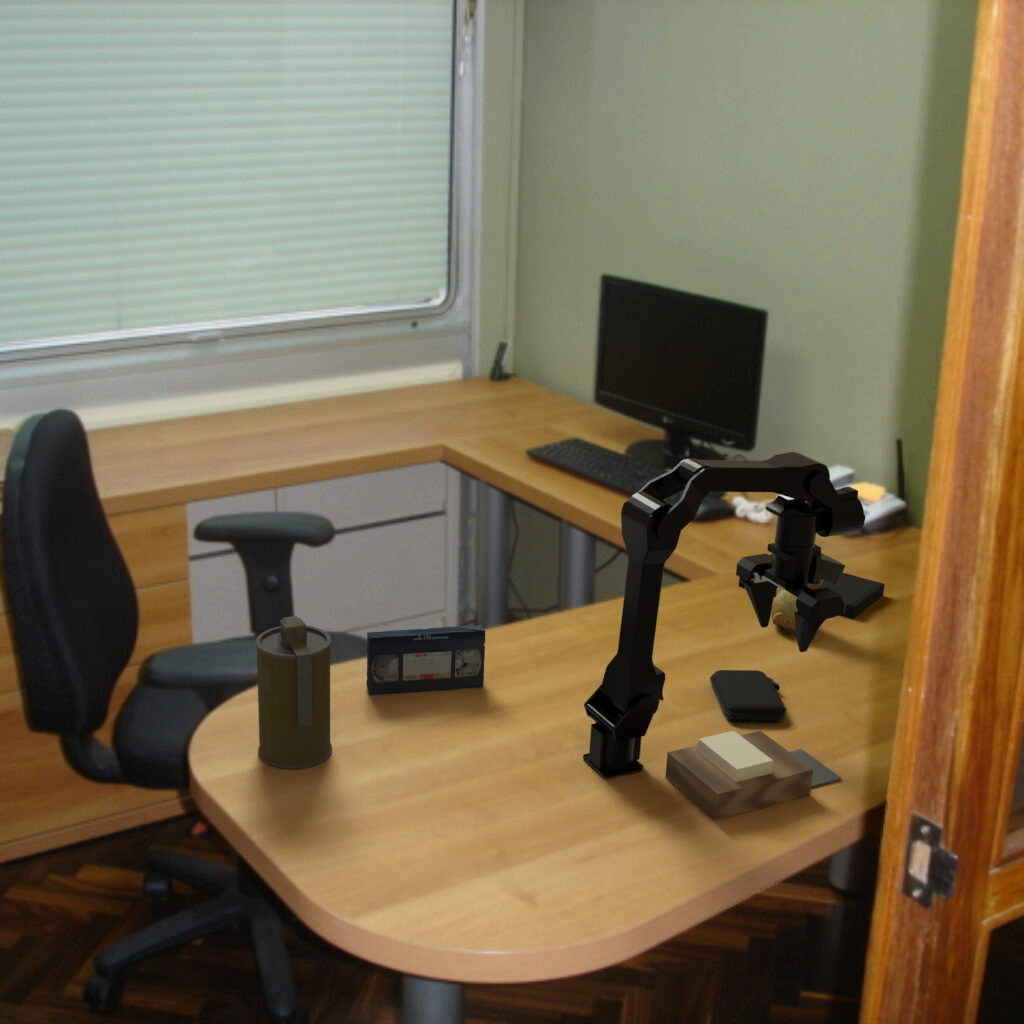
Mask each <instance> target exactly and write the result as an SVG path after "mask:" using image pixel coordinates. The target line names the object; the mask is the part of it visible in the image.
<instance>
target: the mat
mask: <svg viewBox="0 0 1024 1024" xmlns="http://www.w3.org/2000/svg"><path fill="white" fill-rule="evenodd" d="M789 752H790V753H791V754H793V755H794V756H796V757H797V758H798V759H800V760H801V761H802V762H804V763H805V764H806V765H808V766H809V767H810V768H812V769H813V777H812V784H811V789H812V788H815V787H819V786H824V785H829V784H831V783H834V782H839V781H842V780H843V778H842V777H841V776H839V775H838V774H837V773H836V772H835V771H833V770H831V769H830V768H828V767H827V766H826V765H825V764H823V763H822V762H820V761H819V760H817V759H816V758H815V757H814V756H812V755H811V754H809V753H808V752H806V750H804V749H802V748H799V749H794V750H791V751H789Z"/></svg>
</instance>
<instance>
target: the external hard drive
mask: <svg viewBox="0 0 1024 1024" xmlns="http://www.w3.org/2000/svg"><path fill="white" fill-rule="evenodd" d="M769 555H770V556H772V557H773V553H770V554H769ZM741 579H742V578H740V577H739V576H738V587H740V588H742V589H745V587H744V585H743V584H742V583H741ZM885 585H886V584H885V583H883V582H879V581H875V580H873V579H870V578H869V579H868V578H864V577H861V576H857V575H854V574H849V573H846V572H843V573H842V575H841V578H840V580H839V583H838V585H835V584H833V583H832V582H828V581H825V580H824V582H823V583H822V584H821V585H820V586H819V587H818V588H816V589H820V588H826V587H827V588H829V589H831V590H832V591H834V592H836V593H838V594H839V595H841V596H842V597H843V598H844V599H845V600H846V606H845V613H844V615H840V616H839V617H843V618H844V617H845V618H847V619H851V620H854V619H855V618H857V617H858V616H860V615H861V614H863V612H865V611H866V610H867V609H869V608H870V607H871V606H872V605H874V604H875V603H876V602H877V601H879V599H880V600H881V598H883V596H884V594H885V593H884V592H885ZM776 591H777V590H776ZM776 591H775V593H774V598H776Z"/></svg>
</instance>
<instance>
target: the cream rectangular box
mask: <svg viewBox="0 0 1024 1024" xmlns="http://www.w3.org/2000/svg"><path fill="white" fill-rule="evenodd" d="M740 735H741V734H739V733H738V732H737V731H735V730H730V731H727V732H723V733H718V734H714V735H709V736H705V737H701V738H698V743H697V745H698V751H697V752H699V753H700V754H701V755H702V756H704V757H705V758H706V759H707V760H708V761H710V762H711V763H712V764H713V765H715V766H716V767H717V768H718V769H720V770H721V771H722V772H723V773H725V774H726V775H727V776H728V777H729V778H731V779H732V780H733V781H734V782H739V781H743V780H747V779H751V778H755V777H759V776H763V775H767V774H771V773H772V765H773V760H772V759H770V758H769V757H768V756H766V755H765V754H764V753H763V752H761V751H760V750H759V749H757V748H756V747H755V746H753V745H752V744H751V743H749V742H748V741H747V740H745V739H744V738H743V737H741V736H740Z"/></svg>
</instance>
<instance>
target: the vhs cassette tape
mask: <svg viewBox="0 0 1024 1024" xmlns="http://www.w3.org/2000/svg"><path fill="white" fill-rule="evenodd" d="M366 635H367V636H366V637H367V638H366V642H367V644H366V681H365V683H366V690H367V694H368V695H369V696H381V695H382V696H385V695H395V694H397V695H399V694H410V693H411V694H413V693H415V694H416V693H423V692H424V693H425V692H426V693H427V692H443V691H456V690H468V689H470V690H471V689H482V688H484V686H485V685H484V683H485V655H486V653H485V652H486V646H485V645H486V630H485V627H484V626H483V624H479V625H459V626H443V627H442V626H441V627H429V628H414V629H395V630H386V631H385V630H384V631H371V632H370V631H368V632H367V633H366Z"/></svg>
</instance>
